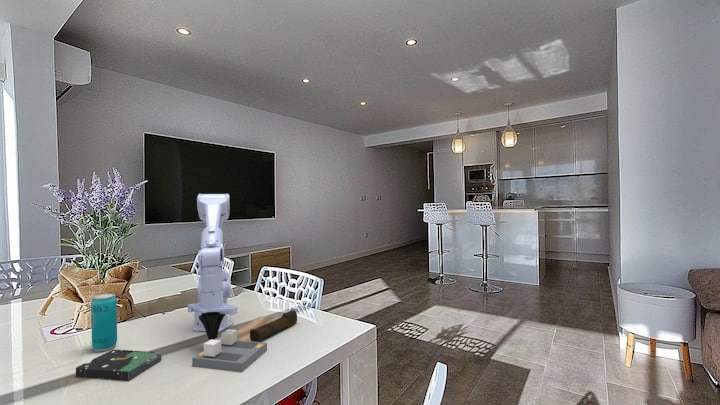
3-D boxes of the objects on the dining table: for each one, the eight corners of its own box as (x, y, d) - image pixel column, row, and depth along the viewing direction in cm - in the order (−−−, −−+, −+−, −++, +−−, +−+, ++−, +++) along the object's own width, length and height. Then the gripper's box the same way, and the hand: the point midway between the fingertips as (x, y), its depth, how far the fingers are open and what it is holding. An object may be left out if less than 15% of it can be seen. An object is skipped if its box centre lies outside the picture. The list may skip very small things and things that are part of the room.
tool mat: (217, 346, 97) (217, 343, 97) (259, 319, 119) (259, 316, 119) (244, 349, 95) (244, 345, 95) (282, 320, 117) (282, 318, 117)
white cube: (203, 355, 84) (203, 343, 84) (211, 350, 87) (211, 339, 87) (214, 356, 83) (214, 344, 83) (221, 351, 86) (221, 340, 86)
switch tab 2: (221, 344, 91) (221, 333, 91) (227, 339, 94) (227, 329, 94) (231, 345, 90) (231, 334, 90) (237, 340, 93) (237, 330, 93)
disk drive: (74, 379, 79) (129, 383, 77) (74, 368, 79) (129, 371, 77) (112, 359, 89) (162, 361, 87) (112, 348, 89) (162, 351, 87)
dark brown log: (258, 344, 96) (258, 328, 96) (248, 341, 98) (248, 325, 98) (303, 324, 112) (303, 310, 112) (294, 321, 114) (294, 308, 114)
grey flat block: (192, 365, 84) (192, 357, 84) (222, 345, 95) (222, 338, 95) (241, 371, 80) (241, 363, 80) (267, 350, 92) (266, 342, 92)
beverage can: (95, 346, 96) (94, 294, 96) (119, 342, 98) (118, 292, 98) (88, 354, 91) (87, 299, 91) (114, 350, 93) (113, 297, 93)
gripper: (179, 292, 91) (180, 342, 91) (225, 295, 88) (226, 347, 88) (197, 286, 98) (198, 332, 98) (241, 288, 94) (242, 336, 94)
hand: (212, 338), depth 93 cm, fingers closed
